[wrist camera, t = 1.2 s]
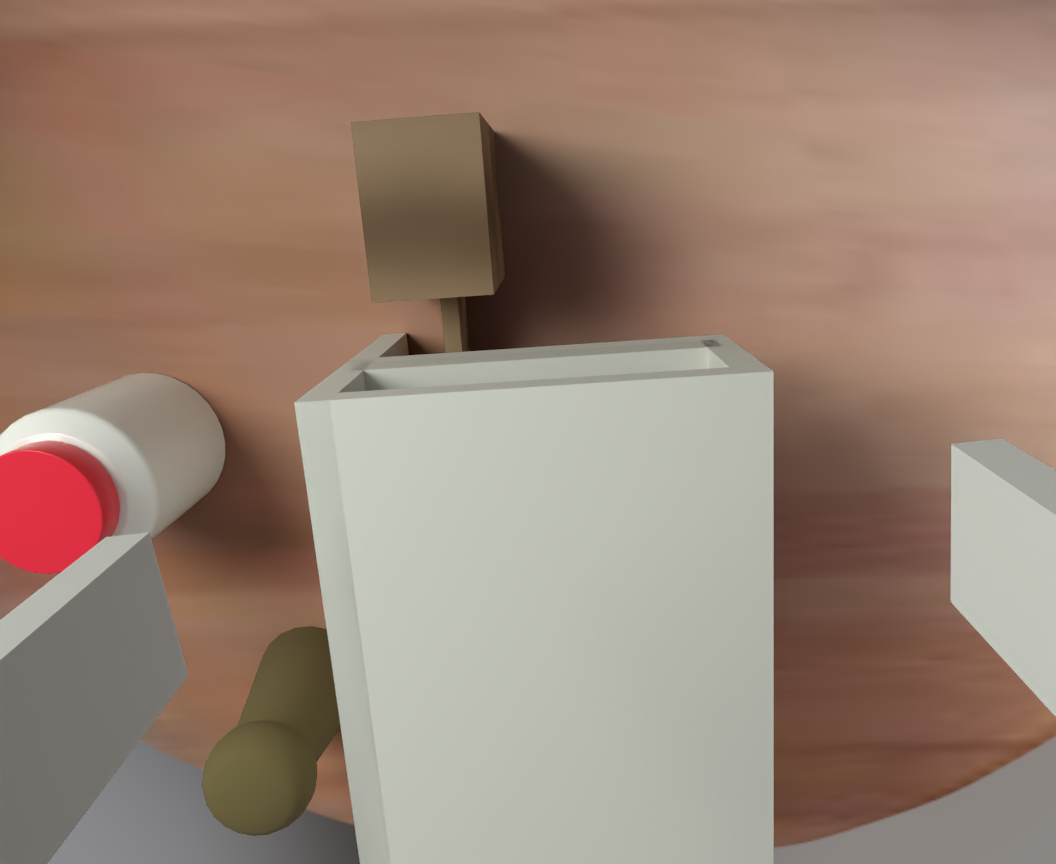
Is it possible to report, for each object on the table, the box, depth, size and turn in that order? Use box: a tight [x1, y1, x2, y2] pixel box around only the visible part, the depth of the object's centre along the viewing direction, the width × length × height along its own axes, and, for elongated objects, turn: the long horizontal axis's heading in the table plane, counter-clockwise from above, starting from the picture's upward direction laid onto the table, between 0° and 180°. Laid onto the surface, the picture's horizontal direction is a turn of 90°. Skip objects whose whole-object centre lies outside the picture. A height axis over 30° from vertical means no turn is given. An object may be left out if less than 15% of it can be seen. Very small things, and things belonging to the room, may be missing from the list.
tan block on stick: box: [351, 112, 505, 353], centre depth 40 cm, size 19×5×9 cm, turn 4°
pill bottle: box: [0, 373, 225, 574], centre depth 41 cm, size 8×8×11 cm
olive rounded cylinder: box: [202, 627, 340, 836], centre depth 44 cm, size 6×6×11 cm
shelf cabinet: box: [294, 333, 774, 864], centre depth 39 cm, size 22×16×16 cm
